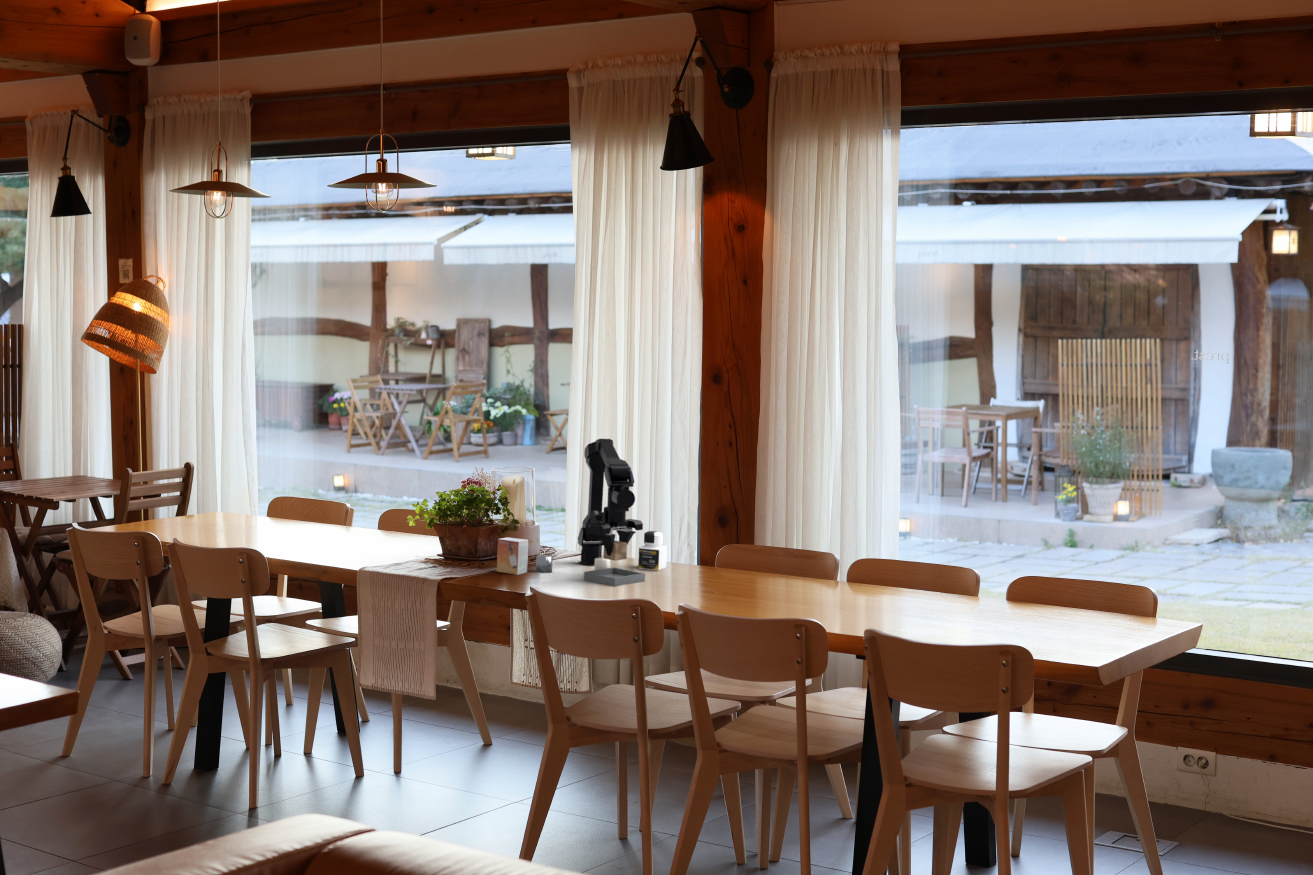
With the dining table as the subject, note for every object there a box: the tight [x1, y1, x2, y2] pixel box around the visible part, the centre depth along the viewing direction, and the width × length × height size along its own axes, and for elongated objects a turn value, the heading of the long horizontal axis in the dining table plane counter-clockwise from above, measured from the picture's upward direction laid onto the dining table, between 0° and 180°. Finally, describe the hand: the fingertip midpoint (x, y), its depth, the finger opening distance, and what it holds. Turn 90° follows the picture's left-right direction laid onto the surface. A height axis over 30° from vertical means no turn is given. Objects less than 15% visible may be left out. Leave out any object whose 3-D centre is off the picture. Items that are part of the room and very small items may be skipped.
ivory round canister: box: [593, 557, 612, 570], centre depth 404 cm, size 5×5×5 cm
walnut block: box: [602, 540, 628, 562], centre depth 395 cm, size 5×5×5 cm
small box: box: [496, 536, 529, 576], centre depth 402 cm, size 8×6×10 cm
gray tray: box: [583, 566, 646, 587], centre depth 395 cm, size 13×13×2 cm
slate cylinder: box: [535, 554, 553, 574], centre depth 406 cm, size 5×5×5 cm
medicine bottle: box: [637, 530, 668, 572], centre depth 418 cm, size 7×7×12 cm
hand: (615, 554), depth 395 cm, fingers closed on walnut block, 5 cm apart
